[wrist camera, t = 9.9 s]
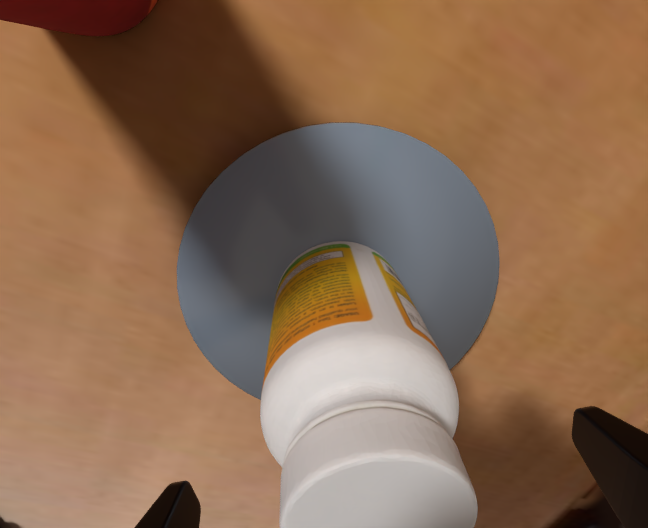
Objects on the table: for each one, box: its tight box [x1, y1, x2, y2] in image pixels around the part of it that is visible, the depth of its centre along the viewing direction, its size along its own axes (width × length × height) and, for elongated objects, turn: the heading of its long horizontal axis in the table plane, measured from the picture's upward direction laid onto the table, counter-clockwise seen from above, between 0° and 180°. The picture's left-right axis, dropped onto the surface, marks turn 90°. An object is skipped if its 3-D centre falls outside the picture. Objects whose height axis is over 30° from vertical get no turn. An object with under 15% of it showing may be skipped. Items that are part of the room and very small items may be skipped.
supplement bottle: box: [260, 241, 478, 528], centre depth 12 cm, size 5×5×10 cm
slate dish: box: [177, 122, 499, 400], centre depth 17 cm, size 14×14×1 cm
